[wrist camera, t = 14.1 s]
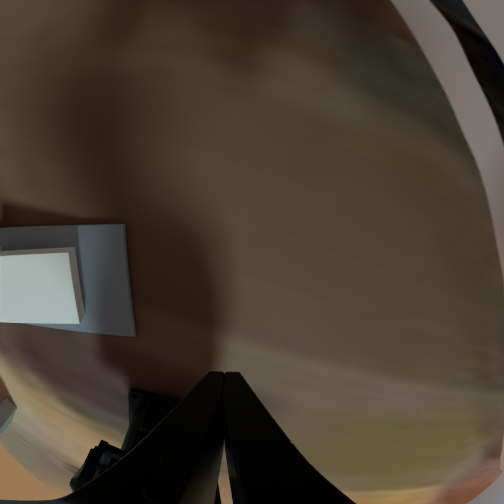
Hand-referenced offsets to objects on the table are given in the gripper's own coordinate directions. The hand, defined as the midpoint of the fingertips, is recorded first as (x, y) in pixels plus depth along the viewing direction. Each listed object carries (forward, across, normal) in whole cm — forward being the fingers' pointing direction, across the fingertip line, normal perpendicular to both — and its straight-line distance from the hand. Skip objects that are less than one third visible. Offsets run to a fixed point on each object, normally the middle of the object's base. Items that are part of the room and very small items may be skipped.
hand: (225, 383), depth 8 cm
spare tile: (+11, +11, +1) cm, 15 cm away
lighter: (+12, +27, +19) cm, 35 cm away
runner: (+12, +22, +1) cm, 25 cm away
